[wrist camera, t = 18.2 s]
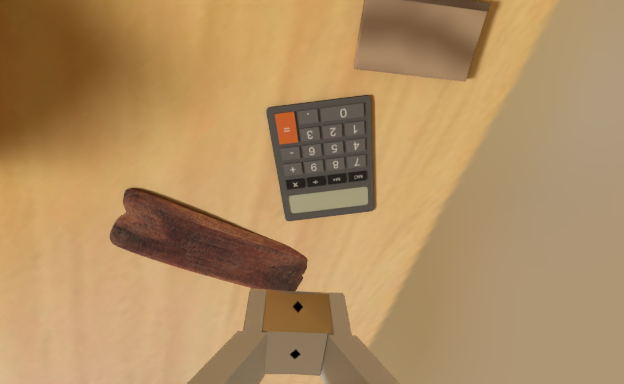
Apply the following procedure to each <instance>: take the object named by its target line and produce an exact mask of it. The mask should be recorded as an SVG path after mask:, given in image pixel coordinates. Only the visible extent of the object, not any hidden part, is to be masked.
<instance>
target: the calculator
mask: <svg viewBox="0 0 624 384" xmlns="http://www.w3.org/2000/svg"><path fill="white" fill-rule="evenodd" d="M267 118H268V123H269V129H270V135H271V140H272V146H273V151H274V157H275V162H276V168H277V174H278V179H279V185H280V190H281V196H282V201H283V207H284V213H285V218H286V220H287V221H294V220H302V219H311V218H319V217H327V216H336V215H344V214H352V213H361V212H369V211H373V209H374V196H373V160H372V124H371V98H370V97H369V96H368V95H363V96H355V97H347V98H339V99H331V100H323V101H315V102H307V103H299V104H291V105H283V106H275V107H269V108H268V109H267Z"/></svg>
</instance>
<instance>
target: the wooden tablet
mask: <svg viewBox="0 0 624 384" xmlns="http://www.w3.org/2000/svg"><path fill="white" fill-rule="evenodd" d="M123 204H124V208H125V210H126V213H125V214H123V215H121V216H120V217H119V218H118V219H117V221H116V222H115V224H114V225H113V228H112V230H111V233H110V240H111V242H112V243H113V244H114V245H116V246H118V247H120V248H123V249H125V250H128V251H130V252H133V253H136V254H139V255H141V256H144V257H147V258H150V259H154V260H157V261H160V262H163V263H166V264H169V265H172V266H176V267H178V268H182V269H185V270H188V271H192V272H195V273H199V274H202V275H206V276H210V277H213V278H217V279H220V280H224V281H227V282H231V283H235V284H239V285H242V286H245V287H250V288H253V289H264V290H267V289H269V290H282V291H295V290H296V288H297V286H298V285H299V284H300V282H301V281H302V279H303V277H302V274H304V272H305V270H306V268H307V258H306V257H305V256H304V255H302V254H301V253H299V252H297V251H296V250H294V249H292V248H291V247H289V246H287V245H285V244H283V243H280V242H277V241H274V240H272V239H269V238H266V237H263V236H261V235H258V234H255V233H252V232H249V231H246V230H243V229H240V228H238V227H235V226H232V225H230V224H227V223H224V222H222V221H219V220H216V219H214V218H212V217H209V216H207V215H204V214H202V213H199V212H196V211H193V210H191V209H188V208H186V207H183V206H181V205H178V204H176V203H173V202H171V201H169V200H167V199H164V198H161V197H158V196H156V195H153V194H150V193H147V192H144V191H140V190H136V189H127V190H126V191H125V193H124V199H123Z"/></svg>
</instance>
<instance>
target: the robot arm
mask: <svg viewBox="0 0 624 384" xmlns="http://www.w3.org/2000/svg"><path fill="white" fill-rule="evenodd" d="M266 293H267V294H266ZM264 374H300V375H318V376H320V378H321V379H322V381H323V383H324V384H400V383H399V382H398V381H397V380H396V379H395V377H394V376H393V375H392V374H391V373H390V372H389V371H388V370H387V369H386V368H385V367H384V366H383V364H382V363H381V362H380V361H379V360H378V359H377V358H376V357H375V356H374V355H373V353H372V352H371V351H370V350H369V349H368V348H367V347H366V346H365V345H364V343H363V342H362V341H361V340H360V339H359V338H358V337H357V336H353V335H352V334H351V328H350V323H349V318H348V312H347V307H346V301H345V296H344V294H343V293H323V292H299V291H297V292H295V291H282V290H269V289H267V290H264V289H252V288H251V290H250V292H249V298H248V304H247V310H246V316H245V321H244V327H243V331H238V332H237V333H236V334H235V335H234V336H233V337H232V338H231V339H230V340H229V341H228V342H227V343H226V344H225V345H224V346H223V347H222V348H221V349H220V350H219V351H218V352H217V353H216V354H215V355H214V356H213V357H212V358H211V359H210V360H209V361H208V362H207V363H206V364H205V366H204V367H203V368H202V369H201V370H200V371H199V372H198V373H197V374H196V375H195V376H194V377H193V378H192V379H191V380H190V381H189V382H188V383H187V384H259V383H260V382H261V380H262V379H263V377H264Z"/></svg>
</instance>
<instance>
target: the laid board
mask: <svg viewBox="0 0 624 384" xmlns="http://www.w3.org/2000/svg"><path fill="white" fill-rule="evenodd" d="M489 6H490V3H485V2H477V1H470V0H364V5H363V12H362V18H361V24H360V30H359V36H358V43H357V49H356V55H355V61H354V68H355V69H360V70H368V71H377V72H386V73H395V74H403V75H412V76H421V77H430V78H438V79H447V80H456V81H466V78H467V75H468V71H469V68H470V65H471V62H472V59H473V56H474V52H475V49H476V46H477V43H478V40H479V36H480V33H481V30H482V27H483V24H484V21H485V17H486V14H487V12H488V10H489Z"/></svg>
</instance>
